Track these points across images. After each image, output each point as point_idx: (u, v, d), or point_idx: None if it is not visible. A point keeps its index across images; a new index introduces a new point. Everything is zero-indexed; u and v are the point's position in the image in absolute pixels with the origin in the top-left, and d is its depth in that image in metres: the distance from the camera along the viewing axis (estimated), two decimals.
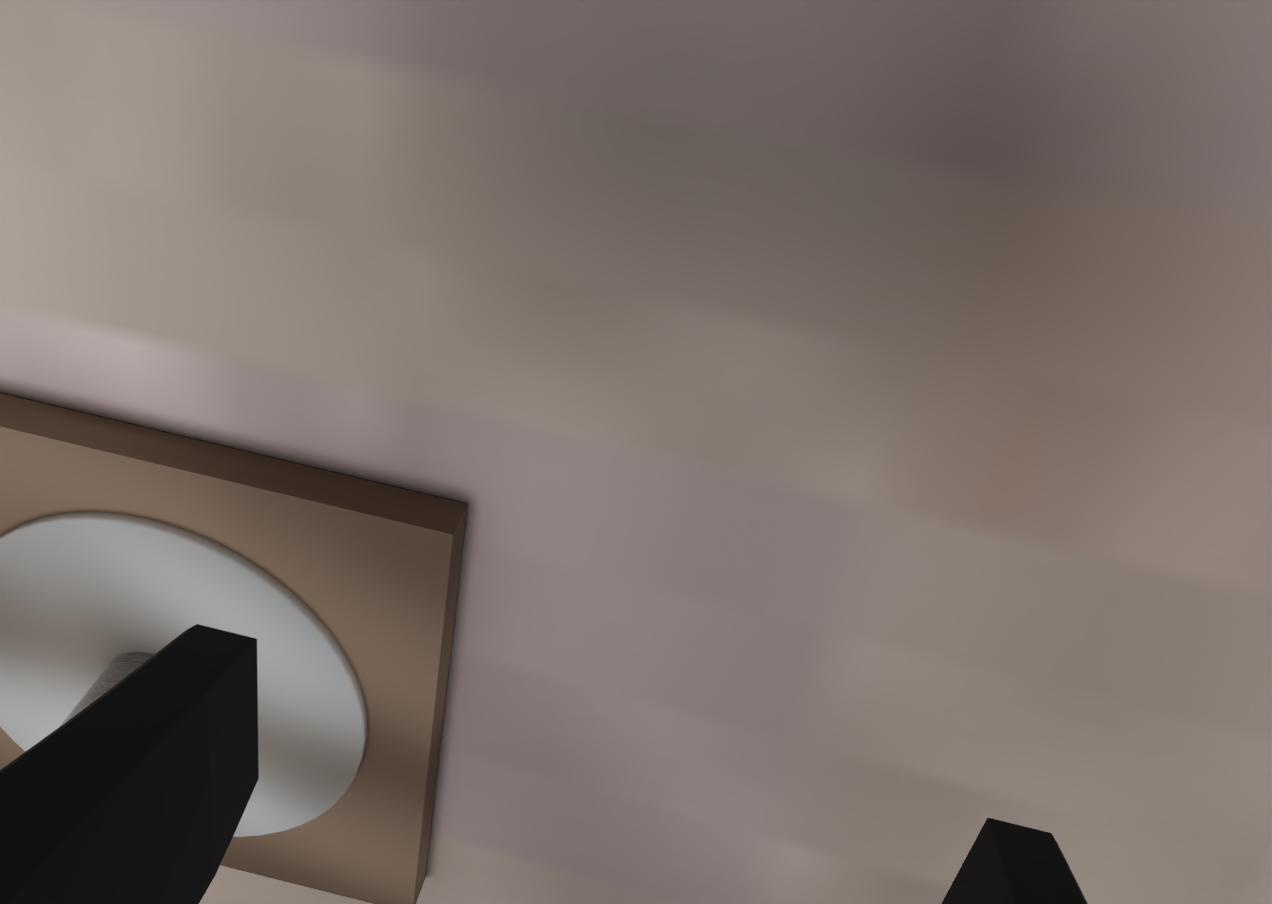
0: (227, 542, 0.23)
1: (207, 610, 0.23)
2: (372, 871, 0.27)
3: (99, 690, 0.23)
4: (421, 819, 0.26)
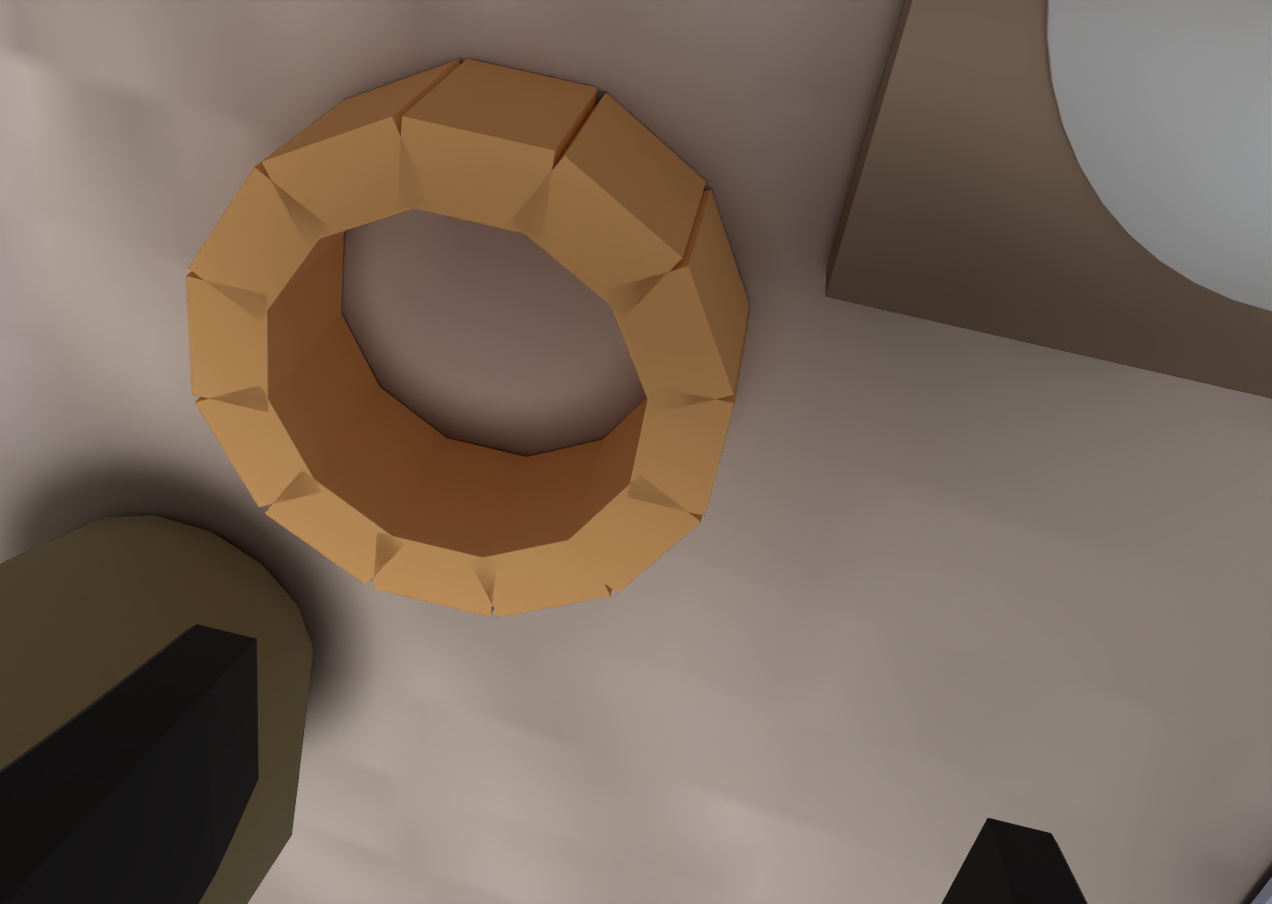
0: None
1: None
2: None
3: None
4: None
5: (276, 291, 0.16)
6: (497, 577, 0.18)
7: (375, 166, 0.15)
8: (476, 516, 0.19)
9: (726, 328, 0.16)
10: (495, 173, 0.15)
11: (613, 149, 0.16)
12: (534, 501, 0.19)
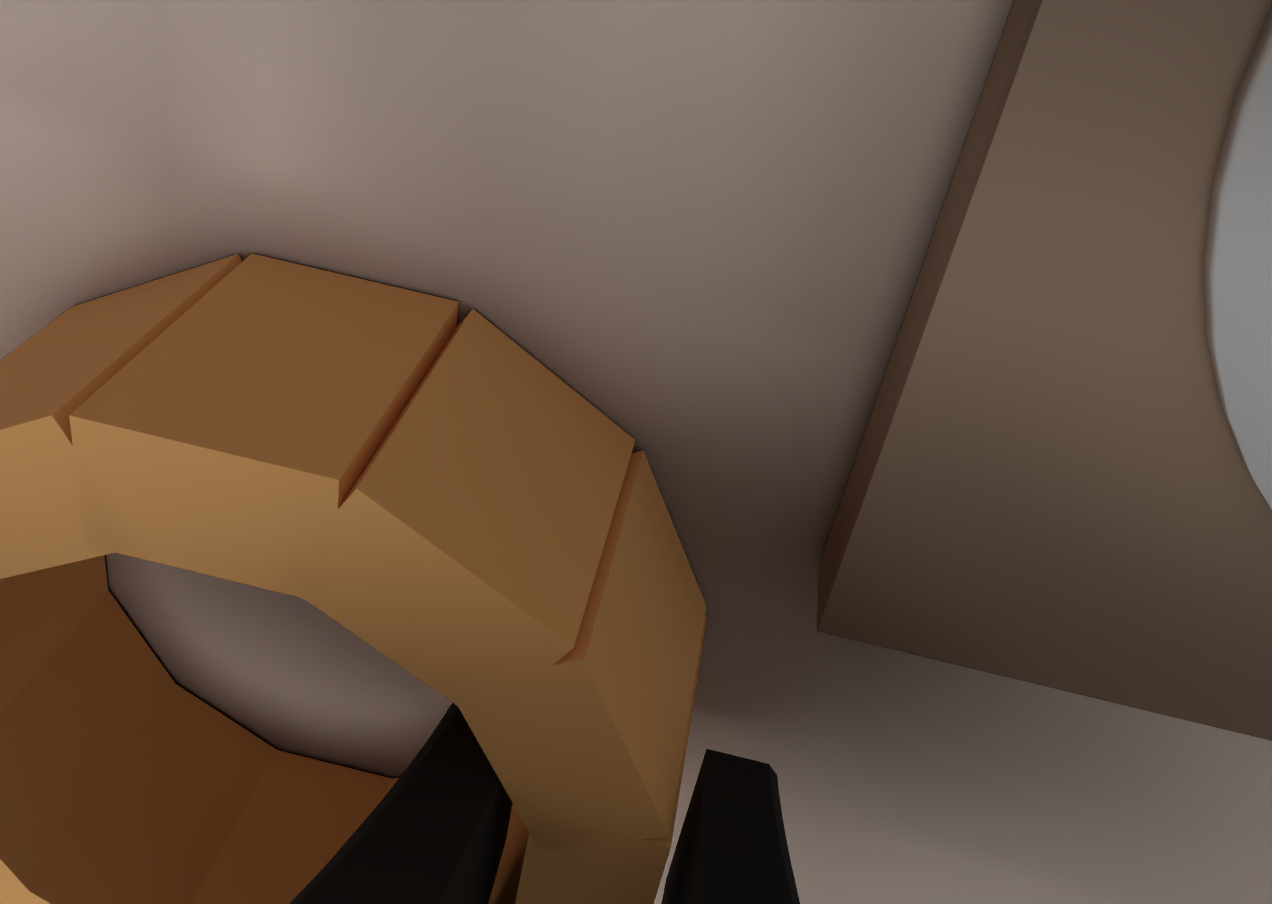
0: None
1: None
2: None
3: None
4: None
5: None
6: None
7: (39, 489, 0.09)
8: None
9: (660, 706, 0.10)
10: (242, 509, 0.08)
11: (466, 432, 0.09)
12: None
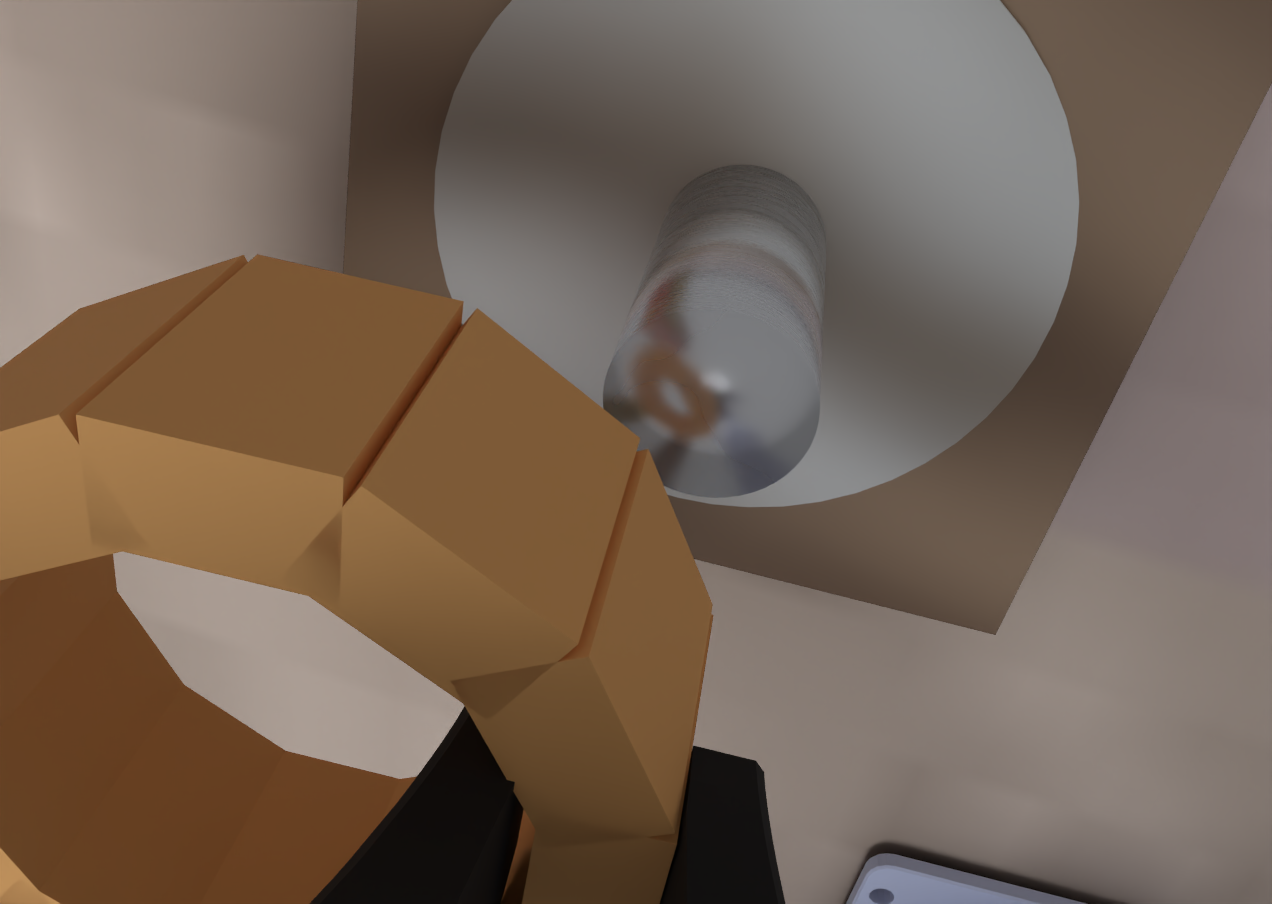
0: None
1: (884, 71, 0.15)
2: (960, 565, 0.19)
3: (712, 195, 0.15)
4: (1077, 468, 0.18)
5: None
6: None
7: (46, 489, 0.09)
8: None
9: (666, 704, 0.10)
10: (247, 507, 0.08)
11: (471, 431, 0.09)
12: None
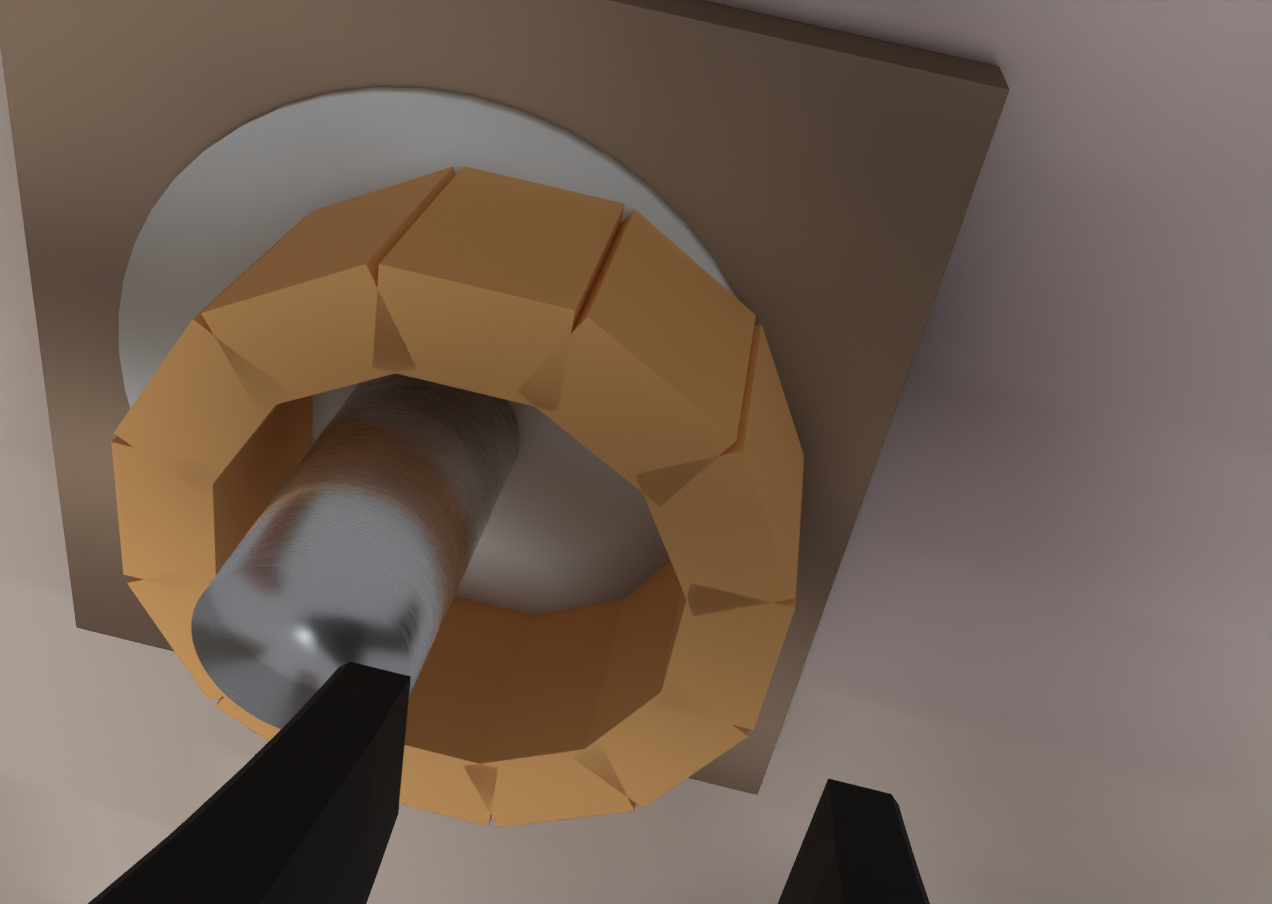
0: (597, 133, 0.14)
1: None
2: None
3: (370, 394, 0.14)
4: (811, 639, 0.17)
5: (223, 463, 0.13)
6: (497, 785, 0.15)
7: (345, 323, 0.12)
8: (472, 702, 0.16)
9: (784, 508, 0.13)
10: (498, 335, 0.12)
11: (646, 293, 0.13)
12: (541, 683, 0.16)
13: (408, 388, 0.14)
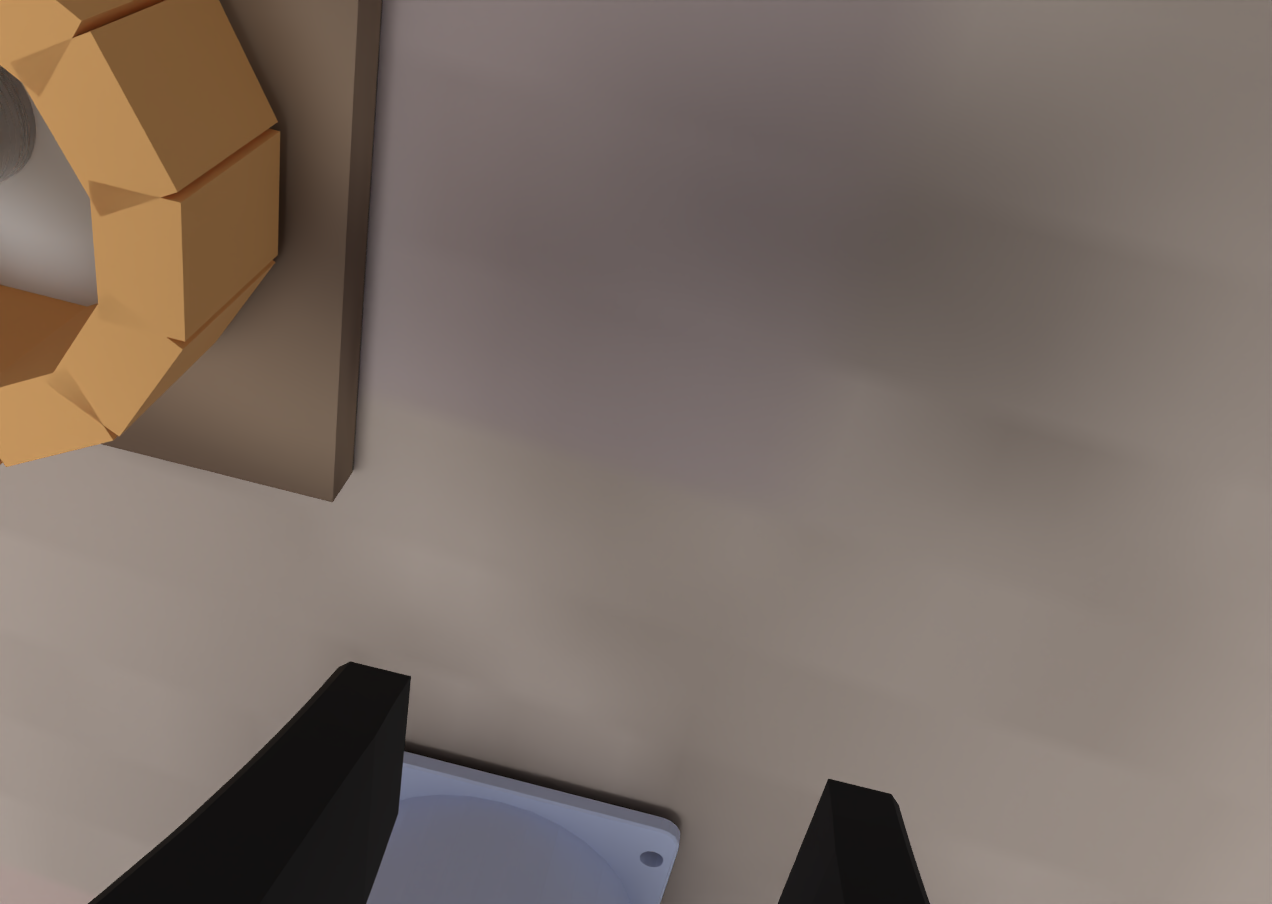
0: None
1: None
2: (276, 431, 0.20)
3: None
4: (340, 328, 0.19)
5: None
6: None
7: None
8: None
9: (188, 124, 0.15)
10: None
11: None
12: (57, 343, 0.17)
13: None
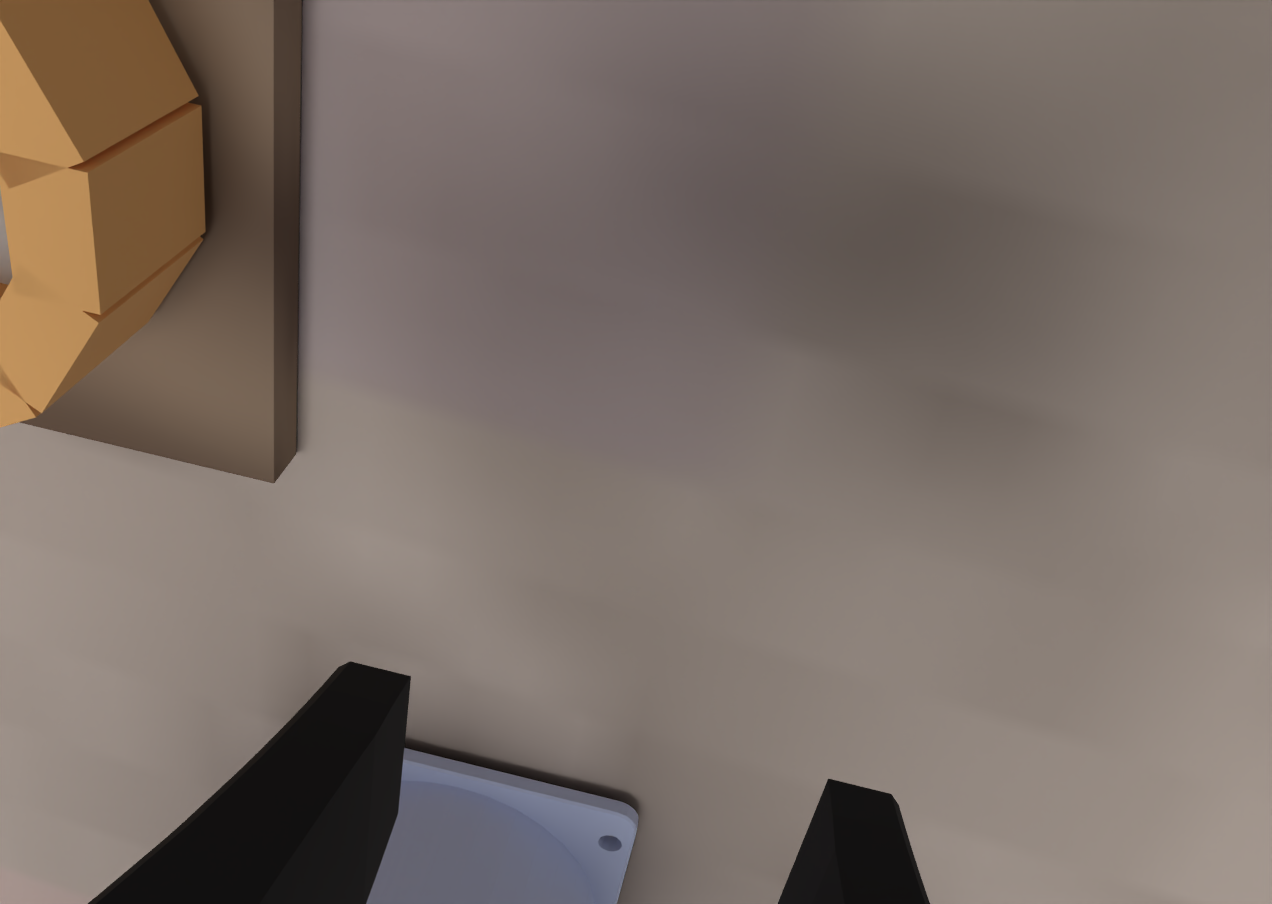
0: None
1: None
2: (215, 411, 0.20)
3: None
4: (272, 306, 0.19)
5: None
6: None
7: None
8: None
9: (97, 94, 0.15)
10: None
11: None
12: None
13: None
